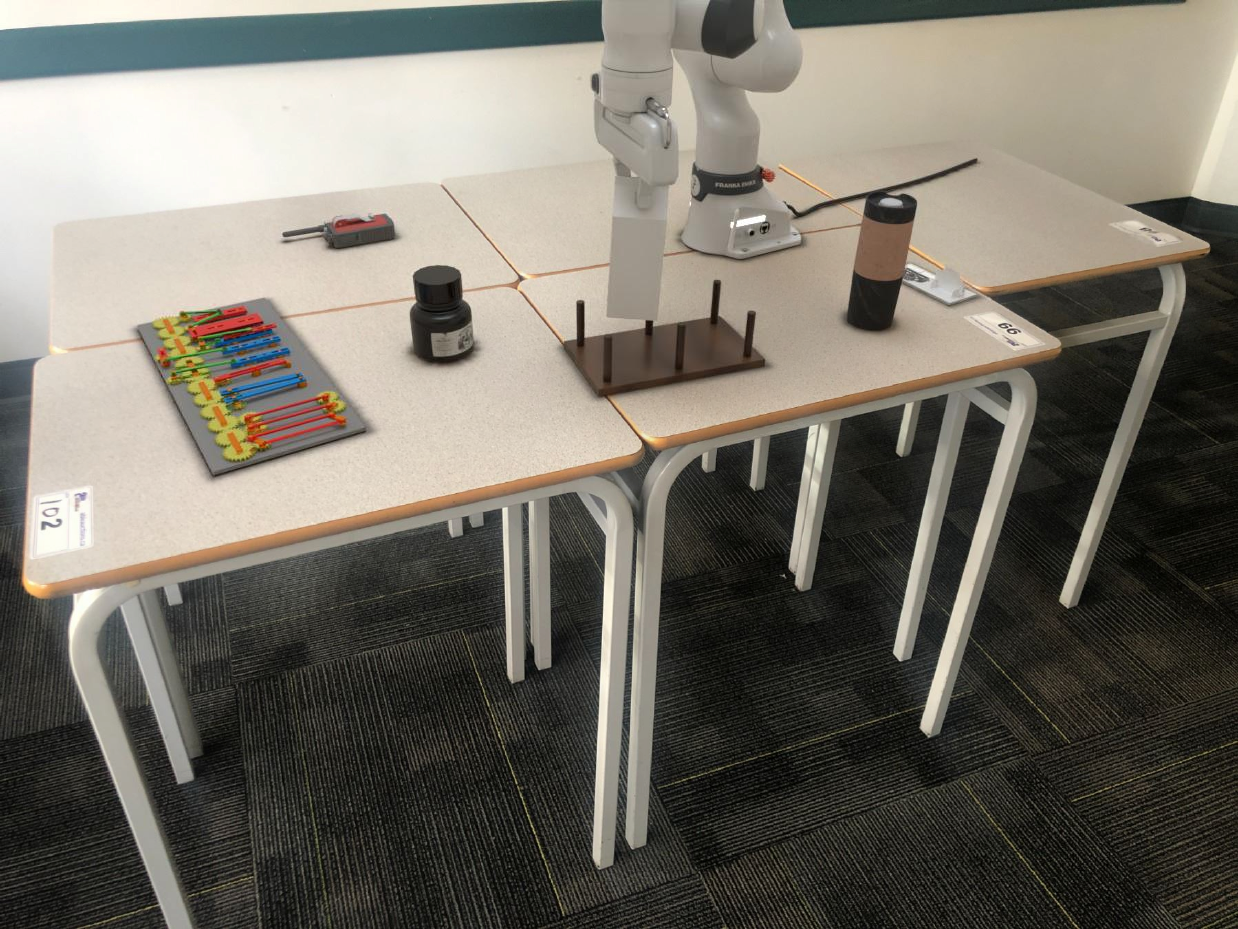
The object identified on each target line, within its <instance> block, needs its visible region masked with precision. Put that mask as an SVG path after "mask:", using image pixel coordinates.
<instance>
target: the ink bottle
mask: <svg viewBox="0 0 1238 929" xmlns="http://www.w3.org/2000/svg"><path fill="white" fill-rule="evenodd" d="M462 278H463V277H462V273H461V271H460V269H458V268H457V267H455V266H450V265H447V264H445V265H444V264H443V265H442V264H436V265H435V264H434V265H428V266H424V267H421V268H419V269H417V270H416V271H414V272H413V274H412V283H413V291H414V299H415V303H414V304H413V305H412V306H411V308H410V309H409V323H410V332H411V339H412V340H411V341H412V348H413V351H414V353H415V355H417V357H419V358H421V359H423V360H426V361H430V362H436V363H449V362H453V361H457V360H460V359H462V358H464V357H466V356H468V355H469V354H470V353H472V352H473V350H474V346H475V340H474V339H475V338H474V326H473V314H472V307H471V305H470V304H469V303H468V302H467V301H466V300H465V299H463V297H464V294H463V292H464V291H463V281H462Z"/></svg>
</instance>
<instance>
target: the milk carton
mask: <svg viewBox="0 0 1238 929" xmlns="http://www.w3.org/2000/svg"><path fill="white" fill-rule="evenodd" d="M637 180H638V176H631V177H627V176H616V175H615V176H614V184H613V185H614V186H613V201H612V216H611V230H610V248H609V252H610V253H609V266H608V282H607V297H606V298H607V299H606V313H605V314H606V318H611V319H625V320H640V321H645V320H652V321H653V322H654V321H655V322H656V321H658V319H659V318H658V317H659V308H660V307H659V306H660V295H661V286H662V276H663V266H664V256H665V255H664V254H665V245H666V244H665V243H666V236H667V234H666V233H667V224H668V211H669V210H668V209H669V193H670V192H669V191H670V185H668V186H660V187H655V189H654V191H653V193H652V200H651V206H650V207H649V208H642V209H641V208H639V207H638V206H637V205H636V204H635V192H637V191H638V187H639V182H638V181H637Z"/></svg>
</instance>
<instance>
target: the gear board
mask: <svg viewBox="0 0 1238 929" xmlns="http://www.w3.org/2000/svg"><path fill="white" fill-rule="evenodd" d="M136 327H137V330H138V332H139V333H140V336H141V337H142V339H143V341H144V343H145V345H146V346H147V349H148V351H149V353H150V355H151V356H152V357H151V358H153V359H152V360H154V363H155V364H156V366H157V368H158V370H159V372H160V374H161V376H162V378H163V380H164V382H165V385H166V386H167V388H168V390H169V392H170V394H171V396H172V397H173V399H174V401H175V403H176V406H177V407H178V409H179V412H180V414H181V415H182V417H183V419H184V421H185V423H186V425H187V427H188V429H189V431H190V433H191V434H192V437H193V438H194V441H195V442H196V445H197V446H198V449H199V450H200V452H201V454H202V456H203V458H204V460H205V462H206V463H207V466H208V468H209V470H210V472H211V474H212V475H213V476H216V475H221V474H223V473H227V472H231V471H234V470H237V469H240V468H244V467H247V466H250V465H254V464H257V463H261V462H265V461H268V460H270V459H274V458H278V457H281V456H285V455H288V454H290V453H295V452H297V451H301V450H305V449H309V448H311V447H316V446H318V445H322V444H325V443H328V442H332V441H335V440H338V439H343V438H345V437H350V436H353V435H356V434H359V433H363V432H366V431H367V426H365V423H364V422H363V421H362V420H361V419H360V418H359V416H358V415H357V413H356V412H355V411H354V410H353V408H352V407H351V406H350V405H349V404H348V402H347V400H345V398H344V397H343V396H342V394H341V393H340V391H338V389H337V388H336V387H335V386H334V385H333V383H332V382H331V381H330V379H329V378H328V377H327V376H326V374H325V373H324V372H323V370H322V369H321V368H320V367H319V365H318V364H317V362H316V361H315V360H314V359H313V358H312V356H311V355H310V353H309V352H308V351H307V350H306V348H304V346H303V345H302V343H301V342H300V341H299V339H298V338H297V337H296V336H295V334H293V332H292V331H291V329H290V328H289V327H288V325H287V324H286V323H285V322H284V321H283V319H282V317H280V315H279V314H278V313H277V311H276V310H275V309H274V307H272V305H271V304H270V302H269V301H268V300H267V299H266V297H261V298H256V299H251V300H247V301H243V302H238V303H233V304H228V305H223V306H218V307H215V308H209V309H206V310H191V311H190V310H189V311H186V310H185V311H184V310H180V311H179V313H178V316H173V315H172V316H170V315H169V316H165V317H164V316H162V317H159V318H156V319H155V320H153V321H151V322H150V321H149V322H146V323H141V324H137V325H136Z"/></svg>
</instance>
